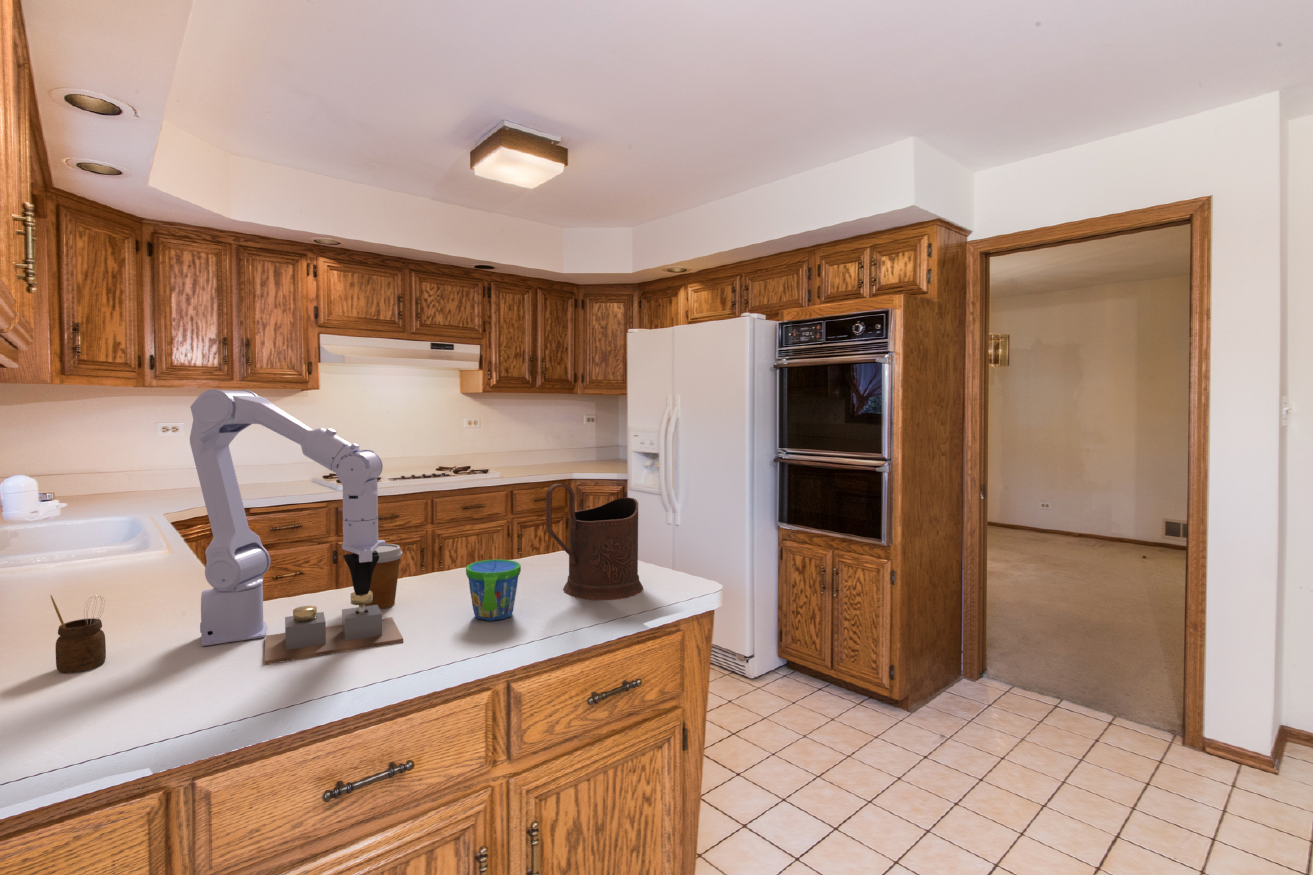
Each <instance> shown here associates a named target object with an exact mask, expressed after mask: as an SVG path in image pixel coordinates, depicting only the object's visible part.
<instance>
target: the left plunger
mask: <svg viewBox="0 0 1313 875" xmlns="http://www.w3.org/2000/svg"><path fill="white" fill-rule="evenodd" d="M317 609H318V608H317V606H315V605H302V606H298V607H295V608H294V609H293V610H292V616H293V620H294V621H309V620H312V619H315V618H316V617H317V613H318V610H317Z"/></svg>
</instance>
